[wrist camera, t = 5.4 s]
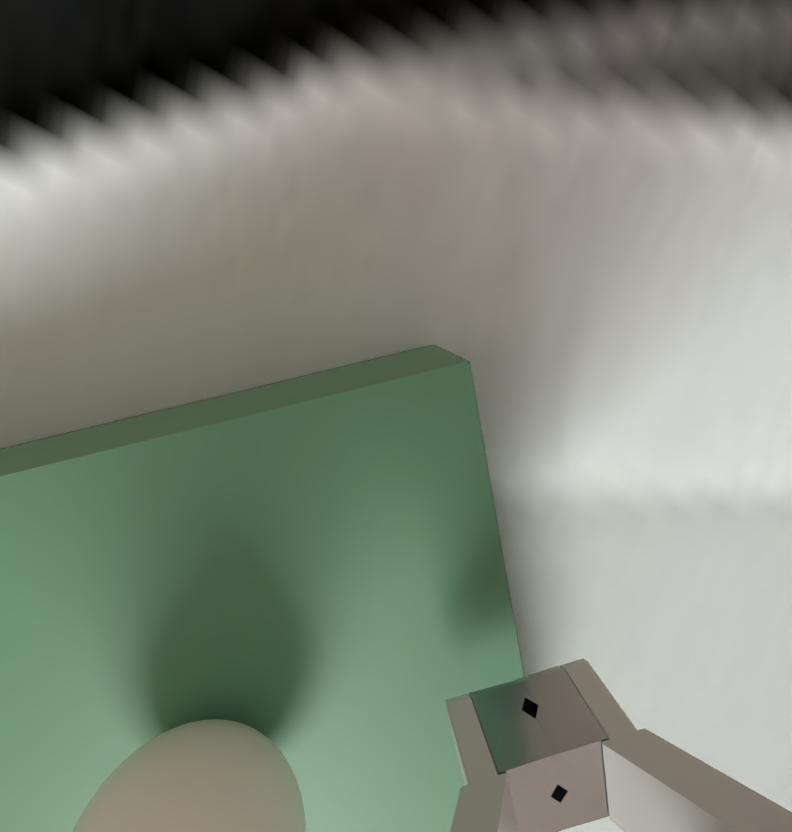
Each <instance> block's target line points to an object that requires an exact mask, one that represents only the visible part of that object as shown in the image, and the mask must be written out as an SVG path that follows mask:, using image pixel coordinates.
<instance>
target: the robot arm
mask: <svg viewBox="0 0 792 832" xmlns="http://www.w3.org/2000/svg"><path fill="white" fill-rule="evenodd" d="M445 705H446V710H447V714H448V719H449V723H450V727H451V732H452V736H453V740H454V744H455V749H456V753H457V757H458V761H459V765H460V769H461V773H462V776H463V780H464V784H465V786H462V787H461V789H460V793H459V797H458V801H457V805H456V809H455V813H454V817H453V821H452V826H451V830H450V832H558V831H561V830H564V829H567V828H571V827H574V826H577V825H581V824H584V823H587V822H591V821H594V820H598V819H601V818H604V817H608V816H610V820H612V821H613V822H614V823H615V824H616V825H617V826H618V827H620V828H621V829H622V830H623V831H624V832H792V812H790V811H788V810H787V809H785V808H783V807H781V806H780V805H778V804H776V803H774V802H773V801H771V800H769V799H767V798H766V797H764V796H762V795H760V794H759V793H757V792H755V791H753V790H752V789H750V788H748V787H746V786H745V785H743V784H741V783H739V782H738V781H736V780H734V779H732V778H731V777H729V776H727V775H725V774H724V773H722V772H720V771H718V770H717V769H715V768H713V767H711V766H710V765H708V764H706V763H704V762H703V761H701V760H699V759H697V758H696V757H694V756H692V755H690V754H689V753H687V752H685V751H683V750H682V749H680V748H678V747H676V746H675V745H673V744H671V743H669V742H668V741H666V740H664V739H662V738H661V737H659V736H657V735H655V734H654V733H652V732H650V731H648V730H647V729H641V730H637V729H636V728H635V726H634V725H633V724H632V722H631V721H630V719H629V718H628V717H627V715H626V714H625V712H624V711H623V710H622V708H621V707H620V706H619V704H618V703H617V701H616V700H615V699H614V697H613V696H612V694H611V693H610V692H609V690H608V689H607V687H606V686H605V685H604V683H603V682H602V680H601V679H600V678H599V676H598V675H597V673H596V672H595V671H594V669H593V668H592V666H591V665H590V664H589V662H588V661H586V660H585V659H580V660H577V661H574V662H570V663H567V664H564V665H561V666H556V667H553V668H549V669H546V670H543V671H540V672H537V673H534V674H531V675H527V676H524V677H521V678H518V679H515V680H514V681H511V682H507V683H504V684H500V685H496V686H493V687H489V688H485V689H481V690H478V691H474V692H470V693H469V694H464V695H460V696H457V697H453V698H450V699H446V700H445Z"/></svg>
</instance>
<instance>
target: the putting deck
mask: <svg viewBox="0 0 792 832" xmlns="http://www.w3.org/2000/svg"><path fill="white" fill-rule="evenodd" d="M521 677H524V675H523V669H522V663H521V657H520V652H519V646H518V640H517V634H516V628H515V623H514V617H513V611H512V605H511V599H510V594H509V588H508V582H507V576H506V570H505V565H504V559H503V553H502V547H501V541H500V536H499V530H498V524H497V518H496V512H495V507H494V501H493V495H492V489H491V483H490V478H489V472H488V466H487V460H486V454H485V449H484V443H483V437H482V431H481V425H480V420H479V414H478V408H477V402H476V397H475V391H474V385H473V379H472V373H471V368H470V362H469V361H468V360H466V359H463V358H461V357H459V356H457V355H455V354H453V353H451V352H448V351H446V350H444V349H442V348H440V347H438V346H435V345H431V346H427V347H423V348H418V349H414V350H410V351H406V352H402V353H398V354H393V355H389V356H385V357H381V358H377V359H373V360H369V361H364V362H360V363H356V364H352V365H348V366H344V367H339V368H335V369H331V370H327V371H323V372H319V373H314V374H310V375H306V376H302V377H298V378H294V379H290V380H285V381H281V382H277V383H273V384H269V385H265V386H260V387H256V388H252V389H248V390H244V391H240V392H236V393H231V394H227V395H223V396H219V397H215V398H211V399H206V400H202V401H198V402H194V403H190V404H186V405H181V406H177V407H173V408H169V409H165V410H161V411H157V412H152V413H148V414H144V415H140V416H136V417H132V418H127V419H123V420H119V421H115V422H111V423H107V424H103V425H98V426H94V427H90V428H86V429H82V430H78V431H73V432H69V433H65V434H61V435H57V436H53V437H48V438H44V439H40V440H36V441H32V442H28V443H24V444H19V445H15V446H11V447H7V448H3V449H0V832H72V831H73V829H74V827H75V825H76V823H77V822H78V820H79V818H80V816H81V814H82V812H83V811H84V809H85V808H86V806H87V805H88V803H89V802H90V800H91V799H92V798H93V796H94V795H95V793H96V792H97V790H98V789H99V788H100V786H101V785H102V784H103V783H104V781H105V780H106V779H107V778H108V777H109V776H110V775H111V774H112V772H113V771H114V770H115V769H116V768H117V767H118V766H119V765H120V764H121V763H122V762H123V761H124V760H126V759H127V758H128V757H129V756H130V755H131V754H132V753H134V752H135V751H136V750H137V749H139V748H140V747H141V746H143V745H144V744H146V743H147V742H149V741H150V740H152V739H153V738H155V737H157V736H158V735H160V734H162V733H164V732H166V731H168V730H170V729H173V728H175V727H178V726H181V725H183V724H186V723H190V722H194V721H200V720H209V719H220V720H230V721H235V722H239V723H242V724H245V725H248V726H250V727H252V728H254V729H256V730H258V731H259V732H261V733H262V734H263V735H265V736H266V737H267V738H269V739H270V740H271V741H272V742H273V743H274V744H275V745H276V746H277V747H278V748H279V750H280V751H281V752H282V754H283V755H284V757H285V758H286V759H287V761H288V763H289V765H290V767H291V769H292V771H293V773H294V775H295V777H296V779H297V783H298V786H299V790H300V793H301V797H302V800H303V806H304V813H305V823H306V832H450V830H451V826H452V821H453V817H454V813H455V809H456V805H457V801H458V797H459V793H460V789H461V787H462V786H465V784H464V780H463V776H462V773H461V769H460V765H459V761H458V757H457V753H456V749H455V744H454V740H453V736H452V732H451V727H450V723H449V719H448V714H447V710H446V705H445V700H446V699H450V698H453V697H457V696H460V695H464V694H469V693H470V692H474V691H478V690H481V689H485V688H489V687H493V686H496V685H500V684H504V683H507V682H511V681H514V680H515V679H518V678H521Z"/></svg>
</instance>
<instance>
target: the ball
mask: <svg viewBox="0 0 792 832" xmlns="http://www.w3.org/2000/svg"><path fill="white" fill-rule="evenodd" d="M72 832H306V823H305V813H304V806H303V800H302V797H301V793H300V790H299V786H298V783H297V779H296V777H295V775H294V773H293V771H292V769H291V767H290V765H289V763H288V761H287V759H286V758H285V757H284V755H283V754H282V752H281V751H280V750H279V748H278V747H277V746H276V745H275V744H274V743H273V742H272V741H271V740H270V739H269V738H267V737H266V736H265V735H263V734H262V733H261V732H259V731H258V730H256V729H254V728H252V727H250V726H248V725H245V724H242V723H239V722H235V721H230V720H220V719H209V720H200V721H194V722H190V723H186V724H183V725H181V726H178V727H175V728H173V729H170V730H168V731H166V732H164V733H162V734H160V735H158V736H157V737H155V738H153V739H152V740H150V741H149V742H147V743H146V744H144V745H143V746H141V747H140V748H139V749H137V750H136V751H135V752H134V753H132V754H131V755H130V756H129V757H128V758H127V759H126V760H124V761H123V762H122V763H121V764H120V765H119V766H118V767H117V768H116V769H115V770H114V771H113V772H112V774H111V775H110V776H109V777H108V778H107V779H106V780H105V781H104V783H103V784H102V785H101V786H100V788H99V789H98V790H97V792H96V793H95V795H94V796H93V798H92V799H91V800H90V802H89V803H88V805H87V806H86V808H85V809H84V811H83V812H82V814H81V816H80V818H79V820H78V822H77V823H76V825H75V827H74V829H73V831H72Z"/></svg>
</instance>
